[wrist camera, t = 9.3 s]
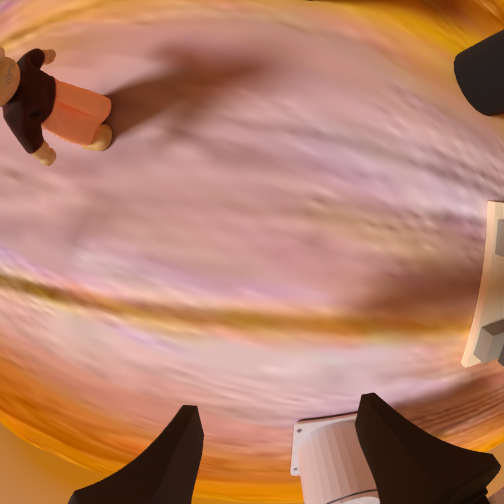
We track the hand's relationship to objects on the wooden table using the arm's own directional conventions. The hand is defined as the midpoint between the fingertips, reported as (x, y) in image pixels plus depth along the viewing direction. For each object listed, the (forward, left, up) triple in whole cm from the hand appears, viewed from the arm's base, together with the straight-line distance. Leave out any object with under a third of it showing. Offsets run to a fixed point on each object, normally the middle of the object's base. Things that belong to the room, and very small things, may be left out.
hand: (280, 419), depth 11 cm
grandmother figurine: (+16, +12, -10) cm, 22 cm away
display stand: (+1, -24, -9) cm, 26 cm away
